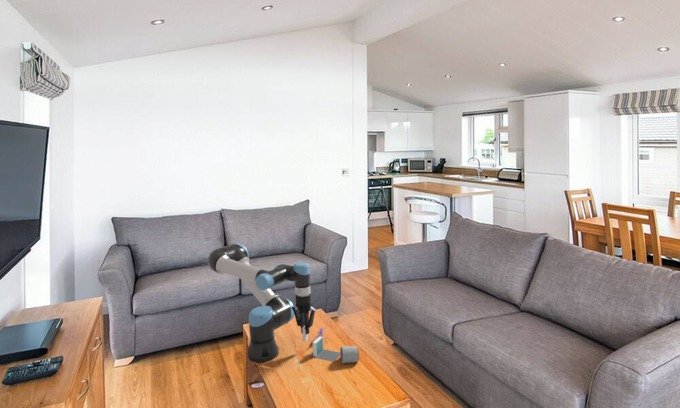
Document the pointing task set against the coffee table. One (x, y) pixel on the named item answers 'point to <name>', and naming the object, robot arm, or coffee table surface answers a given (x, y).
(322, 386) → the coffee table surface
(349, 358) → the ceramic mug
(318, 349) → the tile
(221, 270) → the robot arm
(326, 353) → the mat
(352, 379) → the coffee table surface
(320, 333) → the lily
